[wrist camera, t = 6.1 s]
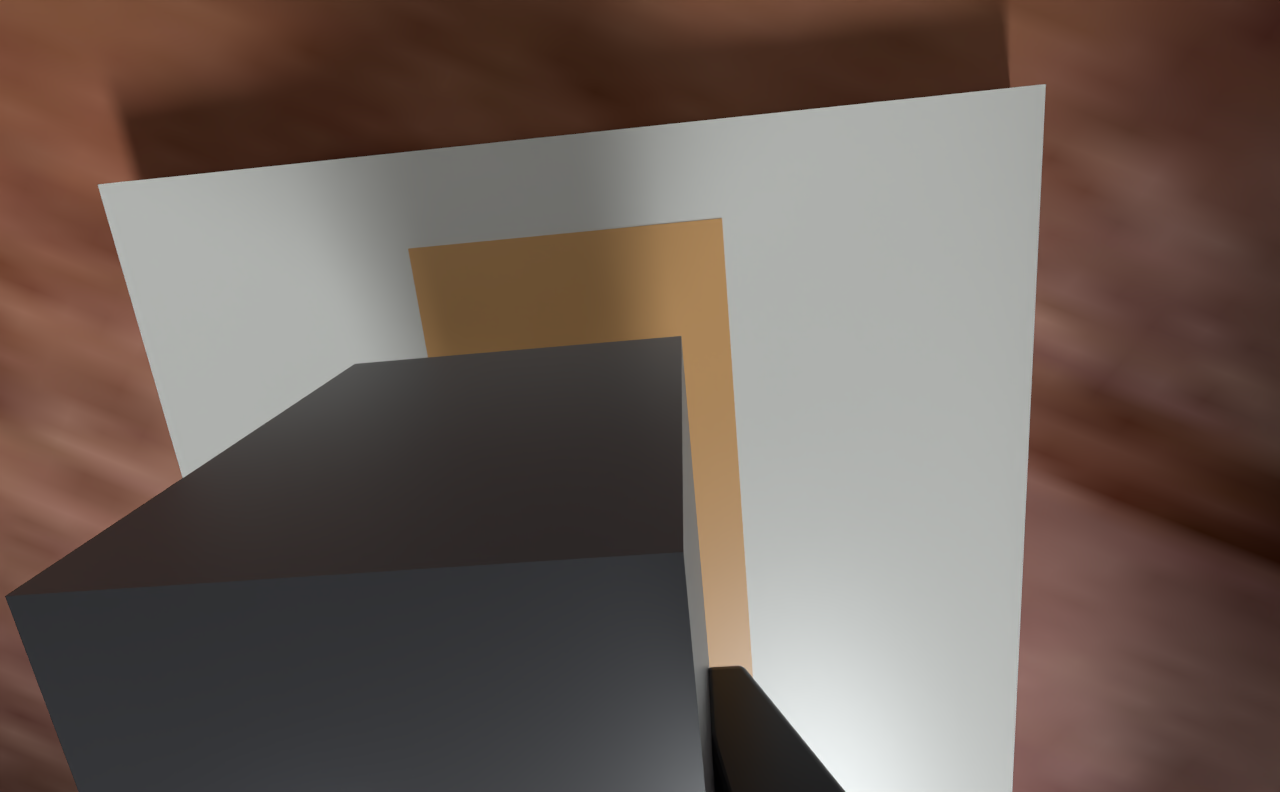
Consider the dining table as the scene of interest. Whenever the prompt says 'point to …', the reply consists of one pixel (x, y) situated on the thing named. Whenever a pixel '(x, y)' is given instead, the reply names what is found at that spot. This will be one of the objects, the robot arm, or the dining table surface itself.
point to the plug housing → (403, 593)
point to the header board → (695, 364)
